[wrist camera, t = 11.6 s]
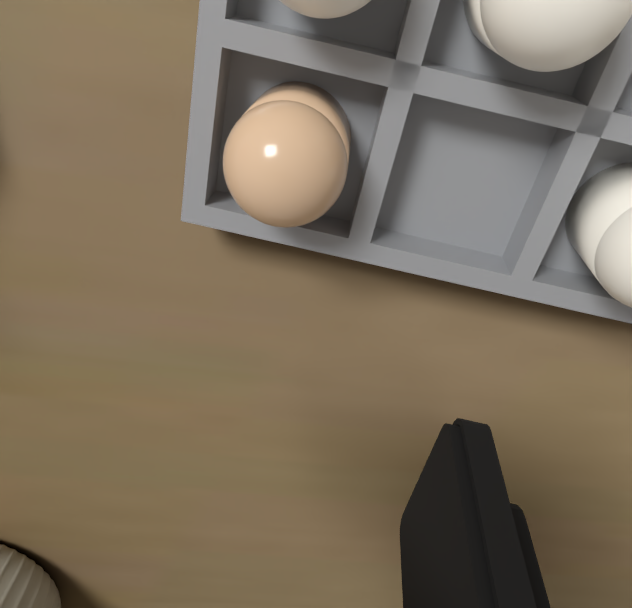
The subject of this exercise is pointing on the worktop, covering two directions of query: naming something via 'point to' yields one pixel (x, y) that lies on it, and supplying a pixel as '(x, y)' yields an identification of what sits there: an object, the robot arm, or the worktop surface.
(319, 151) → the brown egg
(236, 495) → the worktop surface
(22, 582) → the canister
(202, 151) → the egg carton
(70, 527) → the worktop surface
